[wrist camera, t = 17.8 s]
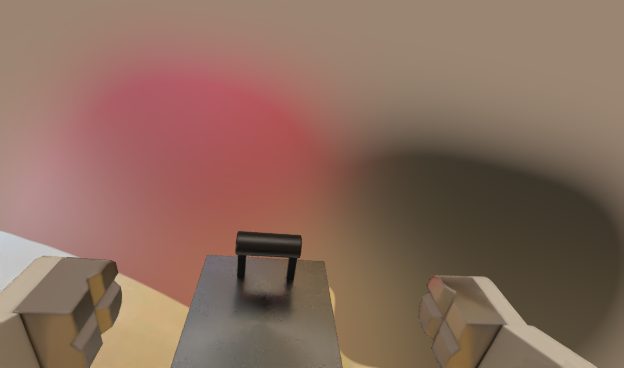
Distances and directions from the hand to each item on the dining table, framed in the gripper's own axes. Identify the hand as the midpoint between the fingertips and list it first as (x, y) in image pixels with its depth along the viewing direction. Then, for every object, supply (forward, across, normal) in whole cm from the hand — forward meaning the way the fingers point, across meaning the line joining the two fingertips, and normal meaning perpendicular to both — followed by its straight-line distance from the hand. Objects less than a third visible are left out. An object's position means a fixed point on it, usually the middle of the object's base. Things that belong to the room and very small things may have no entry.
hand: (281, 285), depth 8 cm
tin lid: (+11, 0, +16) cm, 19 cm away
